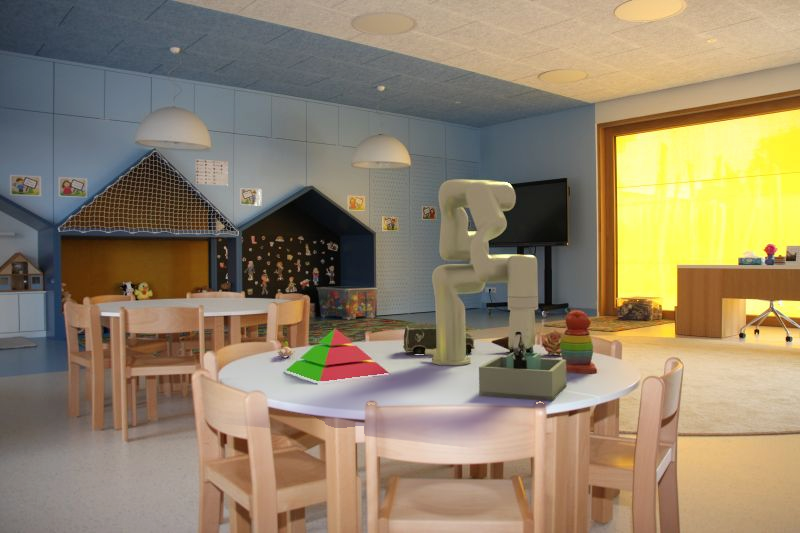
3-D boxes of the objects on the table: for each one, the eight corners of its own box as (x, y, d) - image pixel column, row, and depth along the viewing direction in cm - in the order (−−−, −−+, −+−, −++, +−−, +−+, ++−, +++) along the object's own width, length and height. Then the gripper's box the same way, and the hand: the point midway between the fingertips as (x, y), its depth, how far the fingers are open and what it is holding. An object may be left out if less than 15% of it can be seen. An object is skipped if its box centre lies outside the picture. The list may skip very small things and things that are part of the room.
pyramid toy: (351, 365, 211) (350, 322, 211) (394, 377, 190) (393, 328, 190) (280, 374, 197) (279, 327, 197) (317, 388, 176) (316, 335, 176)
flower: (536, 347, 228) (536, 330, 223) (561, 341, 228) (562, 324, 224) (547, 366, 220) (547, 349, 215) (573, 360, 221) (573, 343, 216)
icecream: (493, 336, 224) (537, 339, 224) (491, 328, 231) (533, 331, 231) (491, 354, 226) (534, 358, 226) (489, 346, 233) (531, 349, 233)
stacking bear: (597, 373, 186) (597, 311, 186) (561, 373, 188) (560, 311, 188) (594, 367, 197) (593, 308, 196) (560, 366, 199) (559, 308, 198)
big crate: (479, 395, 160) (478, 367, 160) (499, 381, 177) (498, 356, 177) (552, 401, 153) (552, 371, 153) (566, 386, 169) (566, 359, 169)
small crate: (506, 379, 163) (506, 355, 163) (514, 374, 169) (513, 351, 169) (534, 381, 160) (534, 357, 160) (540, 376, 167) (540, 353, 166)
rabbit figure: (278, 358, 233) (275, 358, 218) (277, 342, 233) (275, 340, 219) (295, 358, 233) (294, 357, 219) (295, 341, 234) (294, 339, 220)
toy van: (402, 351, 235) (402, 324, 235) (470, 349, 237) (469, 322, 237) (405, 356, 225) (404, 327, 225) (475, 354, 227) (475, 325, 226)
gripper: (516, 301, 174) (517, 367, 174) (499, 306, 158) (500, 378, 158) (544, 301, 171) (545, 368, 171) (529, 306, 155) (530, 380, 155)
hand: (523, 373), depth 165 cm, fingers closed on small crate, 7 cm apart
